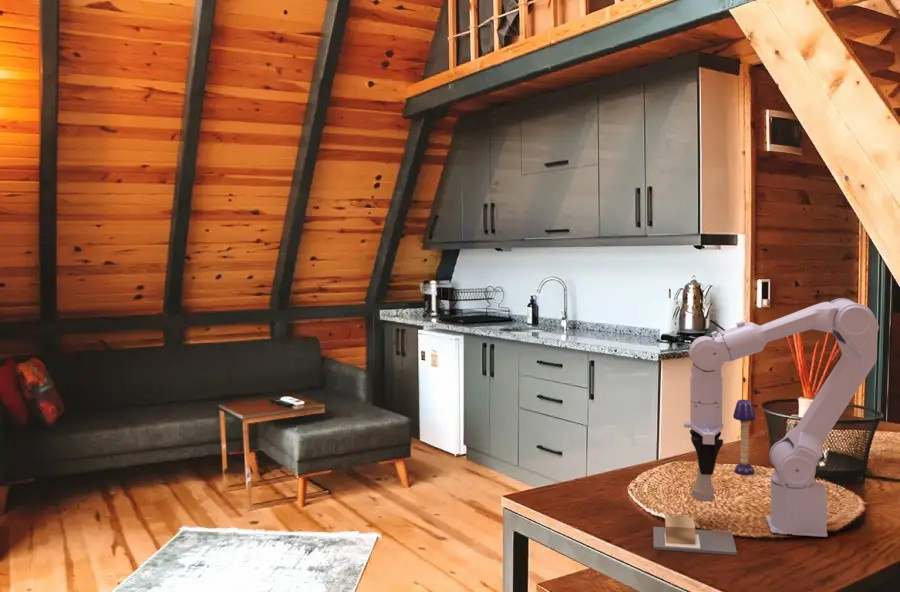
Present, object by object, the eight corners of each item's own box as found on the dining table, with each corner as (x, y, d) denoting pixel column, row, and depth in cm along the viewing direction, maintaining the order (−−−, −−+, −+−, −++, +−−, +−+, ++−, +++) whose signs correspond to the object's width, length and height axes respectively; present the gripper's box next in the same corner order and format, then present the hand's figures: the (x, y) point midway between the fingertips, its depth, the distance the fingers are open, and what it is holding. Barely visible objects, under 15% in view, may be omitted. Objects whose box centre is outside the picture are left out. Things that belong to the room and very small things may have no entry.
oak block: (693, 533, 143) (693, 517, 143) (695, 544, 138) (695, 528, 138) (665, 531, 144) (665, 515, 144) (666, 542, 140) (666, 526, 139)
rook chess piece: (717, 503, 146) (720, 461, 145) (693, 501, 146) (696, 460, 145) (711, 494, 151) (714, 454, 150) (687, 492, 151) (690, 452, 150)
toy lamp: (758, 475, 174) (758, 402, 173) (737, 476, 174) (737, 403, 173) (750, 468, 179) (750, 397, 177) (730, 469, 179) (730, 398, 177)
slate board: (731, 534, 144) (731, 531, 143) (736, 555, 135) (736, 551, 135) (653, 529, 147) (653, 526, 147) (653, 549, 138) (653, 546, 138)
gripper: (682, 391, 154) (682, 458, 156) (685, 409, 140) (685, 482, 142) (720, 392, 153) (719, 459, 154) (726, 410, 139) (726, 484, 140)
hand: (705, 470), depth 148 cm, fingers closed on rook chess piece, 3 cm apart
